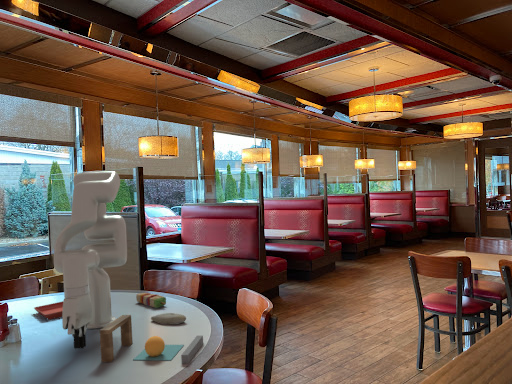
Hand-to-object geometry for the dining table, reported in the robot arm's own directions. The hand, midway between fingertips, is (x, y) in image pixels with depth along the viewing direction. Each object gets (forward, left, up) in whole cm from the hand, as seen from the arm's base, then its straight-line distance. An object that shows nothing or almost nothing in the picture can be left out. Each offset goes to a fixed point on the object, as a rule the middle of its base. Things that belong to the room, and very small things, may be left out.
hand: (80, 347), depth 135 cm
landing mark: (+27, 0, -2) cm, 27 cm away
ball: (+27, -3, +2) cm, 27 cm away
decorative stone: (+19, +30, -2) cm, 35 cm away
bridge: (+13, 0, -2) cm, 13 cm away
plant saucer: (-36, +44, -2) cm, 57 cm away
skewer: (+3, +54, -2) cm, 54 cm away
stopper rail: (+38, 0, -2) cm, 38 cm away
